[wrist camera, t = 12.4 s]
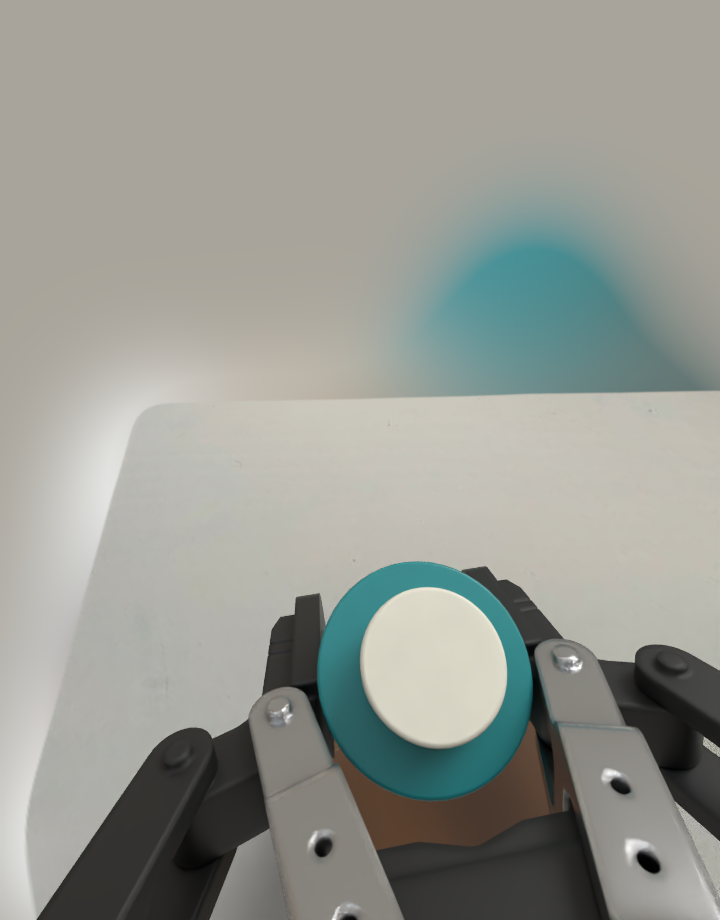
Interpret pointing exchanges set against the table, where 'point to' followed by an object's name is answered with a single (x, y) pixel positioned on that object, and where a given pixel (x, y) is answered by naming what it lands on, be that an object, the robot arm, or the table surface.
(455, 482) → the table surface
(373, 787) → the storage box
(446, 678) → the water bottle
